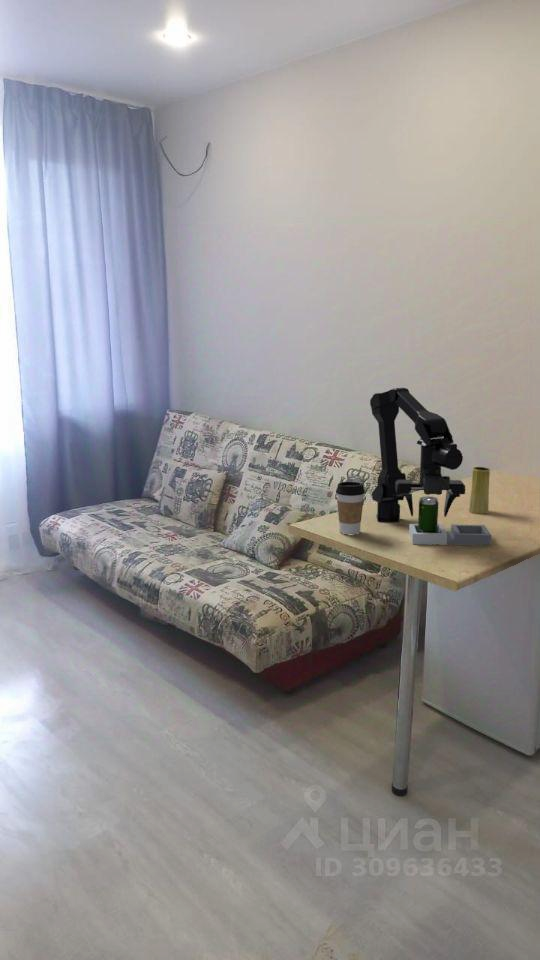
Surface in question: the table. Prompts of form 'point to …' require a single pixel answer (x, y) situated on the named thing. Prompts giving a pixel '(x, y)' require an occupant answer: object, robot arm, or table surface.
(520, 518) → the table surface
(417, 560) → the table surface
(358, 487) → the coffee cup
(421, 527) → the beer can
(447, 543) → the grey double square frame
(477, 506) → the vase
